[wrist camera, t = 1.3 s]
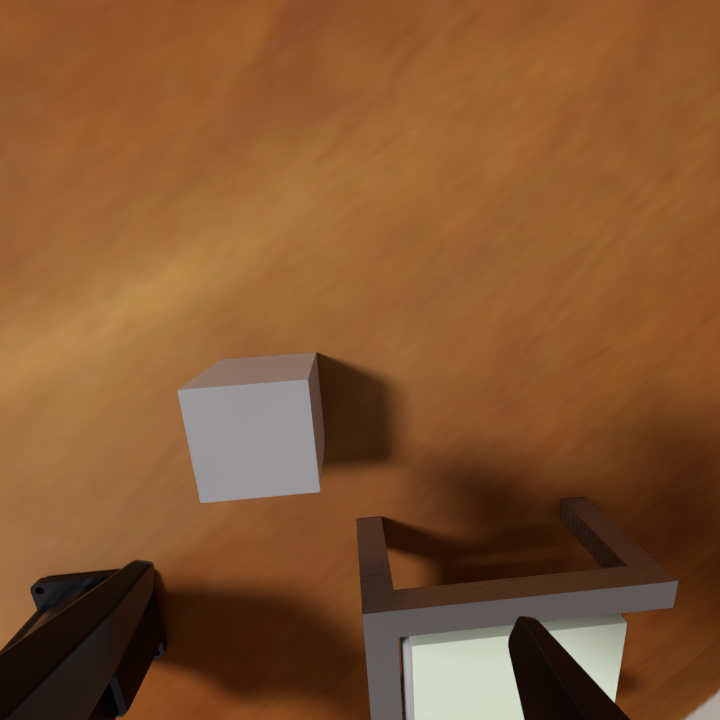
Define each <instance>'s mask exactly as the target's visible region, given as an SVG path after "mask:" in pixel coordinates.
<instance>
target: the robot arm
mask: <svg viewBox="0 0 720 720" xmlns="http://www.w3.org/2000/svg"><path fill="white" fill-rule="evenodd" d="M153 578H154V564H153V563H152V562H150V561H144V560H134V561H132V562H131V563H129V564H128V565H126V566H125V567H123V568H122V569H121V570H119V571H109V572H99V573H89V574H78V575H68V576H58V577H48V578H41V579H39V580H38V581H37V582H36V583H35V584H34V585H33V586H32V587H31V589H30V590H31V594H32V596H33V599H34V602H35V604H36V607H37V611H36V612H35V614H34V615H33V616H32V617H31V618H30V619H29V620H28V621H27V622H26V623H25V625H24V626H23V627H22V628H21V629H20V630H19V631H18V632H17V633H16V635H15V636H14V637H13V638H12V639H11V640H10V641H9V642H8V643H7V644H6V646H5V647H4V648H3V649H2V650H1V651H0V720H116V718H119V717H123V716H124V715H125V714H126V713H127V711H128V710H129V708H130V706H131V704H132V702H133V700H134V698H135V696H136V694H137V692H138V690H139V688H140V685H141V683H142V681H143V679H144V677H145V675H146V673H147V671H148V669H149V667H150V665H151V663H152V661H153V659H158V658H161V657H162V656H163V655H164V653H165V651H166V649H167V642H166V639H165V633H164V629H163V625H162V621H161V617H160V614H159V610H158V606H157V604H156V601H155V597H154V593H153ZM508 649H509V654H510V659H511V663H512V667H513V672H514V676H515V681H516V685H517V689H518V694H519V698H520V703H521V707H522V711H523V716H524V720H630V719H629V718H628V717H627V716H626V714H625V713H624V712H623V711H622V710H621V709H620V708H619V707H618V706H617V705H616V704H615V703H614V702H613V700H612V699H611V698H610V697H609V696H608V695H607V694H606V693H605V692H604V691H603V690H602V689H601V687H600V686H599V685H598V684H597V683H596V682H595V681H594V680H593V679H592V678H591V677H590V676H589V675H588V673H587V672H586V671H585V670H584V669H583V668H582V667H581V666H580V665H579V664H578V663H577V662H576V661H575V659H574V658H573V657H572V656H571V655H570V654H569V653H568V652H567V651H566V650H565V649H564V648H563V646H562V645H561V644H560V643H559V642H558V641H557V640H556V639H555V638H554V637H553V636H552V635H551V634H550V632H549V631H548V630H547V629H546V628H545V627H544V626H543V625H542V624H541V623H540V622H539V621H538V620H537V619H535V618H533V617H526V616H519V617H518V618H517V620H516V622H515V624H514V627H513V629H512V631H511V634H510V636H509V639H508Z"/></svg>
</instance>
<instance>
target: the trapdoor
mask: <svg viewBox="0 0 720 720" xmlns="http://www.w3.org/2000/svg"><path fill="white" fill-rule="evenodd" d="M540 623H541V624H542V625H543V626H544V627H545V628H546V629H547V630H548V631H549V632H550V634H551V635H552V636H553V637H554V638H555V639H556V640H557V641H558V642H559V643H560V644H561V645H562V646H563V648H564V649H565V650H566V651H567V652H568V653H569V654H570V655H571V656H572V657H573V658H574V659H575V661H576V662H577V663H578V664H579V665H580V666H581V667H582V668H583V669H584V670H585V671H586V672H587V673H588V675H589V676H590V677H591V678H592V679H593V680H594V681H595V682H596V683H597V684H598V685H599V686H600V687H601V689H602V690H603V691H604V692H605V693H606V694H607V695H608V696H609V697H610V698H611V699H612V700H613V702H614V703H615V697H616V691H617V685H618V678H619V672H620V666H621V659H622V653H623V647H624V640H625V634H626V628H627V622H626V621H625V619H624V618H623V617H622V616H621V614H620V613H619V614H610V615H600V616H591V617H582V618H573V619H563V620H554V621H545V622H540ZM513 627H514V625H508V626H499V627H489V628H480V629H471V630H462V631H453V632H443V633H434V634H425V635H416V636H406V637H400V643H401V663H402V684H403V704H404V720H524V716H523V711H522V707H521V703H520V698H519V694H518V689H517V685H516V681H515V676H514V672H513V667H512V663H511V659H510V654H509V649H508V639H509V636H510V634H511V631H512V629H513Z"/></svg>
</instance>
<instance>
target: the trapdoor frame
mask: <svg viewBox="0 0 720 720" xmlns="http://www.w3.org/2000/svg"><path fill="white" fill-rule="evenodd" d="M356 521H357V537H358V552H359V568H360V583H361V599H362V614H363V626H364V639H365V651H366V663H367V676H368V688H369V700H370V712H371V720H402V701H401V681H400V661H399V641H398V637H406V636H416V635H425V634H434V633H443V632H453V631H462V630H471V629H480V628H489V627H499V626H508V625H514V624H515V622H516V620H517V618H518V617H519V616H526V617H533V618H535V619H537V620H538V621H539V622H545V621H554V620H563V619H573V618H582V617H591V616H600V615H610V614H619V613H628V612H637V611H646V610H656V609H665V608H673V606H674V601H675V596H676V591H677V586H678V580H677V579H676V578H675V577H673V576H672V575H671V574H670V573H669V572H668V571H667V570H666V569H665V568H663V567H662V566H661V565H660V564H659V563H658V562H657V561H656V560H655V559H654V558H652V557H651V556H650V555H649V554H648V553H647V552H646V551H645V550H644V549H642V548H641V547H640V546H639V545H638V544H637V543H636V542H635V541H634V540H633V539H631V538H630V537H629V536H628V535H627V534H626V533H625V532H624V531H623V530H622V529H620V528H619V527H618V526H617V525H616V524H615V523H614V522H613V521H612V520H610V519H609V518H608V517H607V516H606V515H605V514H604V513H603V512H602V511H601V510H599V509H598V508H597V507H596V506H595V505H594V504H593V503H592V502H591V501H589V500H588V499H587V498H586V497H581V498H571V499H562V505H561V516H560V521H561V522H562V523H563V524H564V525H565V526H566V527H567V528H568V529H569V531H570V532H571V533H572V534H573V535H574V536H575V537H576V538H577V539H578V541H579V542H580V543H581V544H582V545H583V546H584V547H585V548H586V550H587V551H588V552H589V553H590V554H591V555H592V556H593V557H594V558H595V560H596V561H597V562H598V563H599V564H600V565H601V566H602V567H603V568H604V569H594V570H585V571H575V572H565V573H556V574H546V575H536V576H526V577H517V578H507V579H497V580H488V581H478V582H468V583H458V584H449V585H439V586H429V587H420V588H410V589H400V590H393V584H392V578H391V572H390V566H389V560H388V554H387V549H386V543H385V537H384V531H383V525H382V519H381V517H370V518H360V519H356Z"/></svg>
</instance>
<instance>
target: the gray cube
mask: <svg viewBox="0 0 720 720" xmlns="http://www.w3.org/2000/svg"><path fill="white" fill-rule="evenodd" d="M177 391H178V396H179V401H180V406H181V411H182V415H183V420H184V425H185V430H186V435H187V440H188V444H189V449H190V454H191V459H192V464H193V469H194V473H195V478H196V483H197V488H198V493H199V498H200V502H201V503H207V502H217V501H228V500H239V499H249V498H260V497H271V496H281V495H292V494H303V493H313V492H320V488H321V477H322V466H323V455H324V444H325V434H324V424H323V414H322V404H321V394H320V384H319V374H318V364H317V354H316V352H311V353H298V354H285V355H272V356H260V357H247V358H234V359H221V360H219V361H218V362H216V363H215V364H213V365H212V366H211V367H209V368H208V369H206V370H205V371H203V372H202V373H201V374H199V375H198V376H196V377H195V378H194V379H192V380H191V381H189V382H188V383H186V384H185V385H184V386H182V387H181V388H179V389H178V390H177Z"/></svg>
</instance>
